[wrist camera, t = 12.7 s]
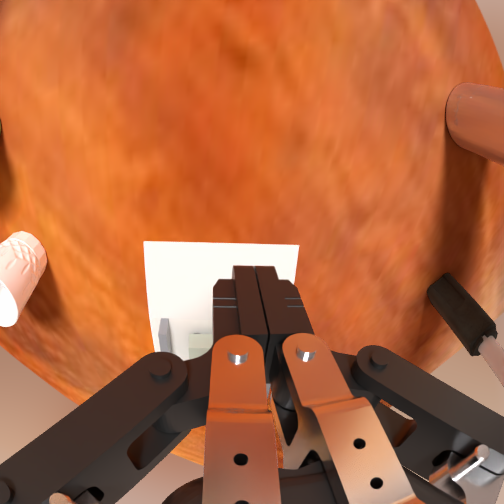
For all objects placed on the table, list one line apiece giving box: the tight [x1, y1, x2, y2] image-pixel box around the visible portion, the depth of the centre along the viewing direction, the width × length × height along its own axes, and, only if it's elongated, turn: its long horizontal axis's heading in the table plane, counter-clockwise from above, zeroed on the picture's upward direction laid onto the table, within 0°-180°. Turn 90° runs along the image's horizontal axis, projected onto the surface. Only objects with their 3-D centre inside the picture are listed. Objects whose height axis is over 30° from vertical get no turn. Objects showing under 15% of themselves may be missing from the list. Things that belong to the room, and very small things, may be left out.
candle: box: [427, 273, 504, 387], centre depth 33 cm, size 5×5×25 cm
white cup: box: [0, 231, 47, 327], centre depth 28 cm, size 8×8×10 cm
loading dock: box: [144, 241, 299, 399], centre depth 40 cm, size 18×25×6 cm
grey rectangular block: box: [188, 333, 213, 359], centre depth 41 cm, size 8×10×4 cm
